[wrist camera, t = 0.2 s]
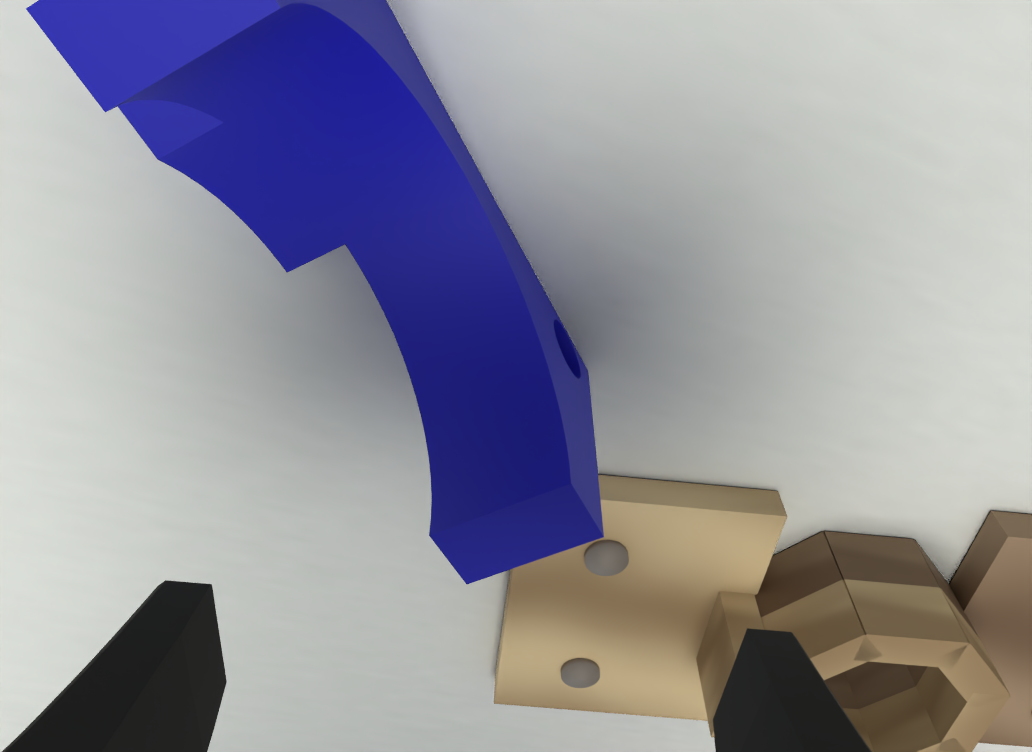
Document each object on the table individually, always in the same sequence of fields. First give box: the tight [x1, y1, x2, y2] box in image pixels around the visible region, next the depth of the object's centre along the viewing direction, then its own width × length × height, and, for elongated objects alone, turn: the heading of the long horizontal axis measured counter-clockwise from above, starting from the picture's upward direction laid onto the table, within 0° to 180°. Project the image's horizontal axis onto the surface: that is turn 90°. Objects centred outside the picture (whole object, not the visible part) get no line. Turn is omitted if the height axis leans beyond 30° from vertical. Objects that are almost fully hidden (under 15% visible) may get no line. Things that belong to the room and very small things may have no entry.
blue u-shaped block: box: [26, 0, 604, 584], centre depth 16 cm, size 12×4×6 cm, turn 27°
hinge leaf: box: [494, 475, 1010, 752], centre depth 24 cm, size 9×13×4 cm
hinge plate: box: [755, 511, 1032, 747], centre depth 25 cm, size 9×13×2 cm
